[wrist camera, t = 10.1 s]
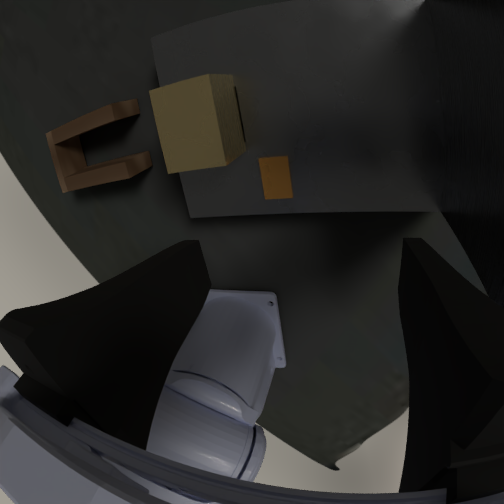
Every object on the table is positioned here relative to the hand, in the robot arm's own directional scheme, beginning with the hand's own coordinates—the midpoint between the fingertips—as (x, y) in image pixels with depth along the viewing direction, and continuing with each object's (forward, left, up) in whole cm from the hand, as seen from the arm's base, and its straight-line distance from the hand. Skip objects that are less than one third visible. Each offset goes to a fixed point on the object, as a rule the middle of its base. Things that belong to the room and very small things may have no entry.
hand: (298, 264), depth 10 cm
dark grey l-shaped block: (+5, 0, -10) cm, 11 cm away
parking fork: (+5, +15, -10) cm, 19 cm away
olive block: (+5, +5, -10) cm, 12 cm away
